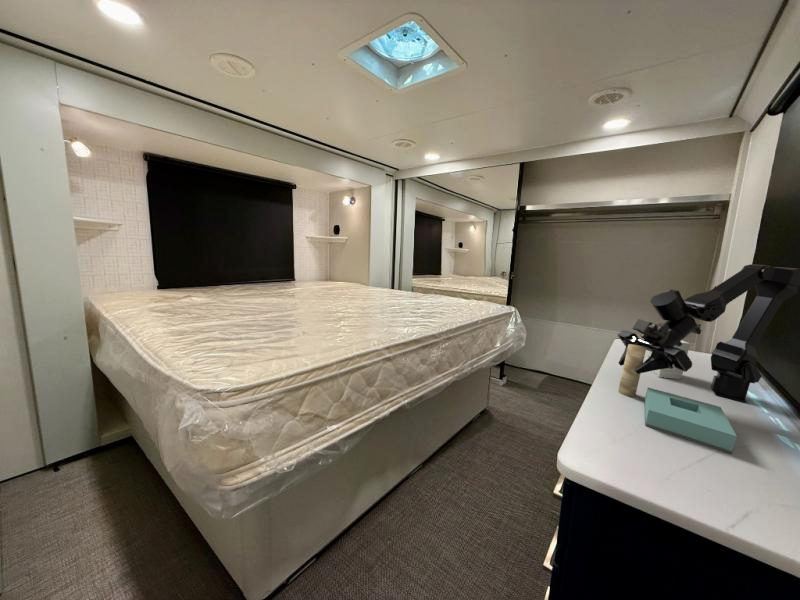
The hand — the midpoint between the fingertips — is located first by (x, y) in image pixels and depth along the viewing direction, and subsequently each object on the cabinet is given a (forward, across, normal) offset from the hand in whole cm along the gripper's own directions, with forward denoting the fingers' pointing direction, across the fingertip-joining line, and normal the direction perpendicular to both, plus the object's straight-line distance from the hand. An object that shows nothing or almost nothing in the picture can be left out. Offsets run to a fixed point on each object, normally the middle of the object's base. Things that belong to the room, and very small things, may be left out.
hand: (627, 368), depth 86 cm
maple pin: (+4, 0, +6) cm, 8 cm away
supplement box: (-14, -15, +25) cm, 33 cm away
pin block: (+4, +15, +7) cm, 17 cm away
